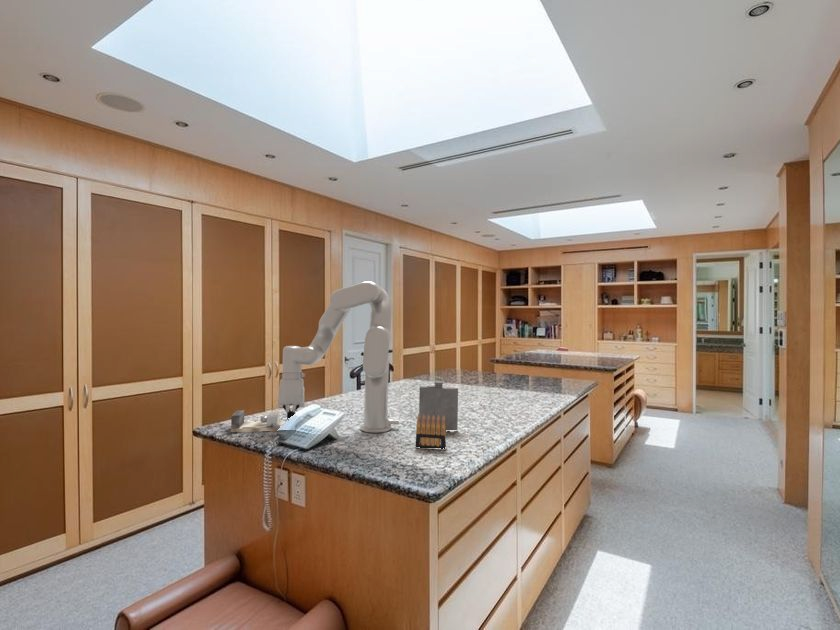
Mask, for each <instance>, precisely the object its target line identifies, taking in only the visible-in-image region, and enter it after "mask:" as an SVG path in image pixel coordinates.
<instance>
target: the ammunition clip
mask: <svg viewBox="0 0 840 630" xmlns="http://www.w3.org/2000/svg"><path fill="white" fill-rule="evenodd" d="M416 418H417V419H416V428H415V430H416V431H415V432H416V434H415V446H414V447H420V448H441V449H443V448H444V449H445V447H446V448H447V443H446V442H447V441H446V438H447V437H446V433H447V432H446V427H445V417H444V415H443V417H442V426H441V427H440V417H439V415H438V417H437V425H436V426H435V416H434V415H433V417H432V425H431V426H430V416H429V414H428V417H427V425H425V415H424V414H423V417H422V426H421V422H420V414H419V413H418V414H417V417H416Z"/></svg>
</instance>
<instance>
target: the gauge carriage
mask: <svg viewBox="0 0 840 630" xmlns="http://www.w3.org/2000/svg"><path fill="white" fill-rule="evenodd" d="M280 414H281V413H280V411H278V412H268V414H267V415H266V416H261V418H260V422H261V423H267V427H272V426H278V424H279V421H280V417H281V415H280Z"/></svg>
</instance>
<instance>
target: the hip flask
mask: <svg viewBox="0 0 840 630" xmlns="http://www.w3.org/2000/svg"><path fill="white" fill-rule="evenodd" d="M433 384H434V385H427V386H426V385H424V386H422V385H421V386H419V398H418V401H419V402H418V403H419V405H418V414H420V422H421V426H422V417H423V414H424V415H425V425H427V417H428V414H429V416H430V426H431V425H432V417H433V415H434V416H435V426H436V425H437V417H438V415H439V417H440V427H441V426H442V417H443V415H444V417H445V427H446V430H457V431H458V425H459V424H458V419H459V418H458V417H459V415H458V414H459V412H458V411H459V409H458V408H459V387H445V386H444V387H443V385H444V381H434V383H433Z"/></svg>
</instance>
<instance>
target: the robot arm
mask: <svg viewBox="0 0 840 630" xmlns="http://www.w3.org/2000/svg"><path fill="white" fill-rule="evenodd" d="M366 304H369V305H370V308H371V312H370V323H369V329H368V330H367V332H366V334H365V336H364V337H365V338H364V346H363V347H364V348H363V356H362V369H363V372H364V373H365V375H364V377H365V378H364V402H363V403H364V406H363V407H364V410H363V416H364V417H363V424H361V425H360V427H359V428H360V430H361V431H362V432H366V433H371V434H372V433H374V434H375V433H378V434H379V433H385V432H389V431H391V429H392V425H395V426H396V425H399V423H400V422H399V421H400V420H399V419H395V418H389V417H388V409H389V408H388V404H389V400H388V399H389V396H388V395H389V373H390V371H389V370H390V361H389V349H390V342H391V337H392V336H391V329H392V328H391V327H392V313H393V308H392V307H393V305H392V300H391V298H390V296H389V294H388V292H387V291H386V290H385V289H383V288H382V287H381V286H379V285H378V284H377V283H375V282H374V281H368V280H367V281H363V282H362V281H361V282H360V283H356V284H353V285H349V286H346V287H342V288H339V289H336V290H334V291H333V292H332V293H331V294H330V297H329V304H328V305H327V308H326V309H325V311H324V312H323V314H322V315H321V317H320V319H319V320H318V330H317V331H316V334H315V336H314V338H313V340H312V341H311V343H310V344H309V346H302V347H301V346H298V345H285V346H284V347H283V349H282V370H281V371H282V372H281V373H282V375H281V377H282V378H280V381H279V386H278V396H277V401H278V403H277V407H278V408H280V409H281V408H282V409H284V411H286V420H289V419H288V418H290V417H291V416H293V415H294V414H295V415H296V411H297V410H299V409H300V408H303V407H305V405H306V404H305V383H304V382H305V381H304V379H303V378H304V377H306V373H305V372H304V373H303V371H302V369H303V368H302V366H303V365H305V366H312V365H314V364H316V363H319V362H320V361H322V359H323V358H324V356H325V355H326V353H327V351H328V350H329V348H330V346H331V344H332V343H333V341H334V339H335V337H336V336H337V333H338V331H339V329H341V326H342V324H343V322H344V321H345V319H346V318H347V316H348V314H349V313H350V311H351V309H352V308H356V307H359V306H362V305H366ZM291 406H292V408H291Z"/></svg>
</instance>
